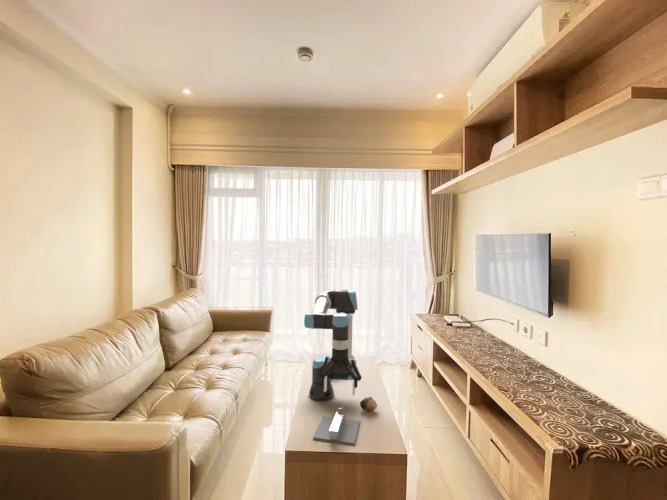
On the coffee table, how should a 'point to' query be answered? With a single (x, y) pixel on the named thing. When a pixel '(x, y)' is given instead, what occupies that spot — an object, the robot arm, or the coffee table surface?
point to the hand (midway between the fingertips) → (339, 392)
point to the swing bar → (337, 423)
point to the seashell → (368, 404)
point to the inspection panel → (346, 433)
